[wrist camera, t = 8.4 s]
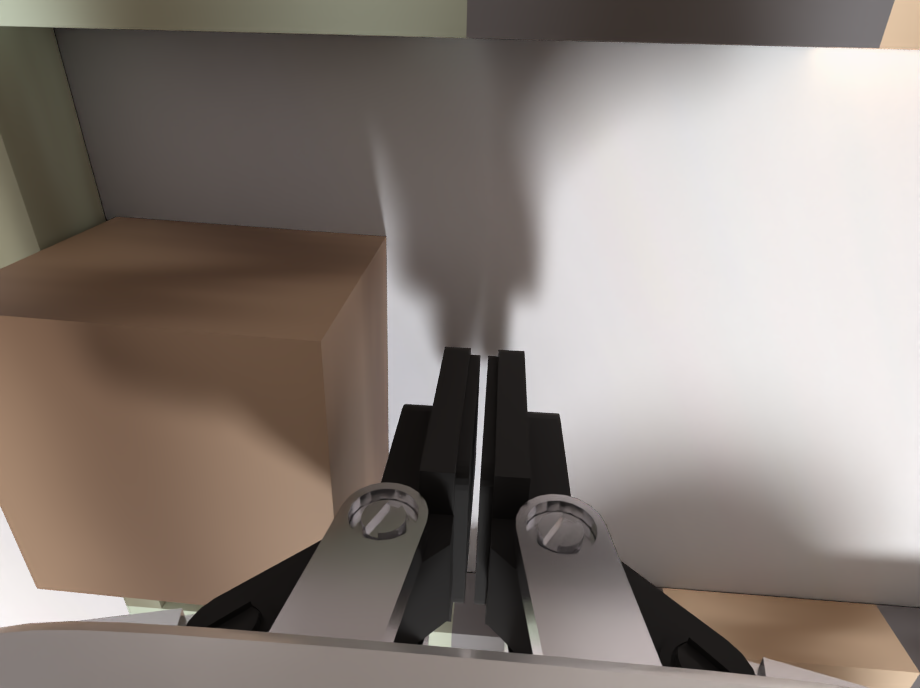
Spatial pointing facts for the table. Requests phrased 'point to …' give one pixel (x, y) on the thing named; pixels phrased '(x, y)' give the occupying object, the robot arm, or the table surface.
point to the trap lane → (452, 16)
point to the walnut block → (187, 401)
